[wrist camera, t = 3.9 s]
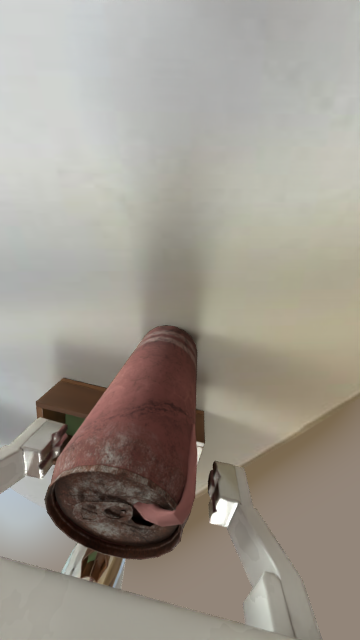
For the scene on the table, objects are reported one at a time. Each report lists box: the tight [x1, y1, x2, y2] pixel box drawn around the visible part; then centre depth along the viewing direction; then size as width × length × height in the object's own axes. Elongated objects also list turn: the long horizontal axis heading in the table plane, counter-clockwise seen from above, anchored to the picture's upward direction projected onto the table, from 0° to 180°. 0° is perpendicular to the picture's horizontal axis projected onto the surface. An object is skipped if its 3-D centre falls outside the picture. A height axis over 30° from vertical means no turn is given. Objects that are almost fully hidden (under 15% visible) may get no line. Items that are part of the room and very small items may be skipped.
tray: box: [36, 378, 205, 465], centre depth 22 cm, size 9×18×4 cm, turn 79°
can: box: [44, 325, 197, 560], centre depth 13 cm, size 6×6×14 cm
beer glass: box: [61, 542, 125, 590], centre depth 21 cm, size 7×7×15 cm
